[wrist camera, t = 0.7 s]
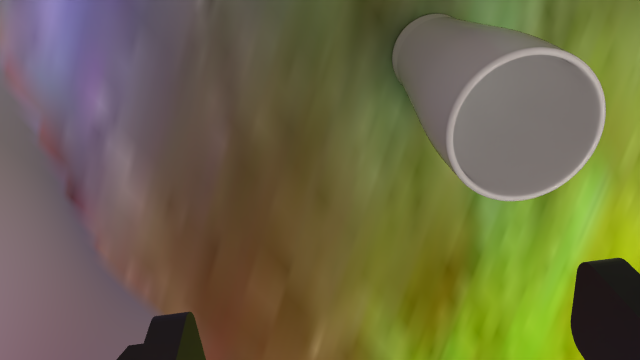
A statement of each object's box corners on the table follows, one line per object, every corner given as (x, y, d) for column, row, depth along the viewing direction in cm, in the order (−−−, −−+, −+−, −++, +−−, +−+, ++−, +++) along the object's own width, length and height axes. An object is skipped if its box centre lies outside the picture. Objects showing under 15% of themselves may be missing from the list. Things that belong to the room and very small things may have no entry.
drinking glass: (360, 39, 34) (415, 109, 21) (452, -22, 33) (574, 9, 20) (410, 121, 37) (487, 231, 23) (496, 67, 36) (632, 150, 22)
